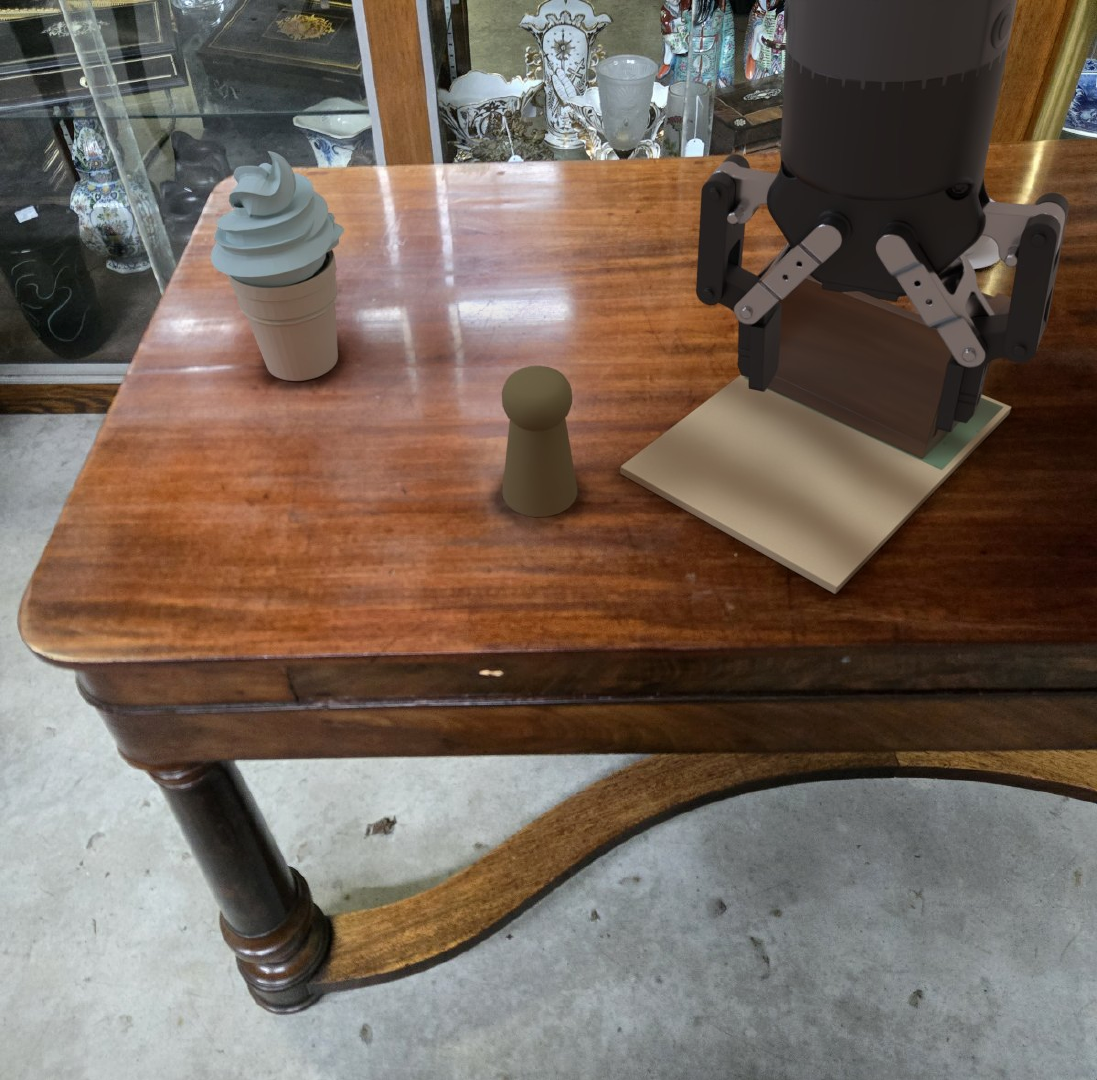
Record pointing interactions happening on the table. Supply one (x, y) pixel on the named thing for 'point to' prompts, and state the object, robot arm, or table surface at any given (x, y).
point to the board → (799, 477)
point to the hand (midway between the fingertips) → (851, 400)
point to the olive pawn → (538, 442)
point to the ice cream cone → (282, 267)
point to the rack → (865, 363)
